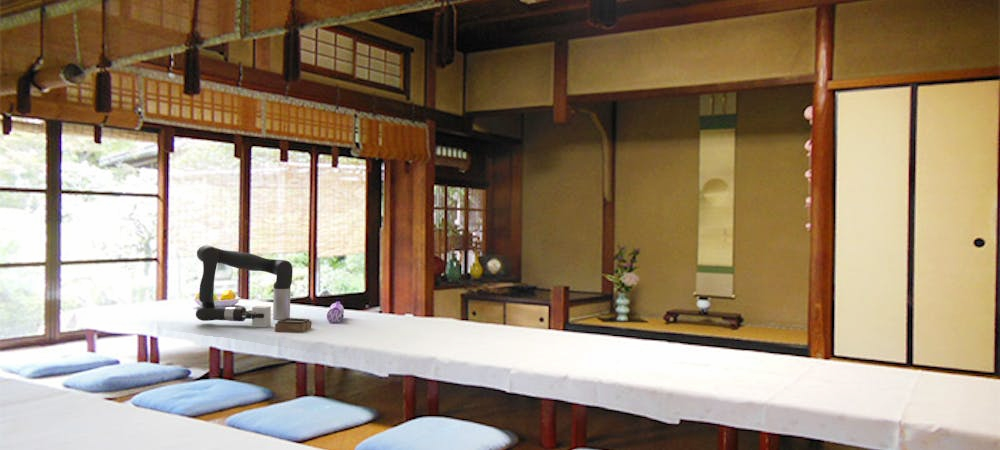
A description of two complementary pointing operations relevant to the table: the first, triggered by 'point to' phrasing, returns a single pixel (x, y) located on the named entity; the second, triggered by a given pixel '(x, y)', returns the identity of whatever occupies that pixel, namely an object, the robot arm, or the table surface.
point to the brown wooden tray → (292, 325)
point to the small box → (262, 321)
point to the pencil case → (335, 313)
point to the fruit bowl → (222, 299)
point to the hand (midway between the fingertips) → (266, 315)
